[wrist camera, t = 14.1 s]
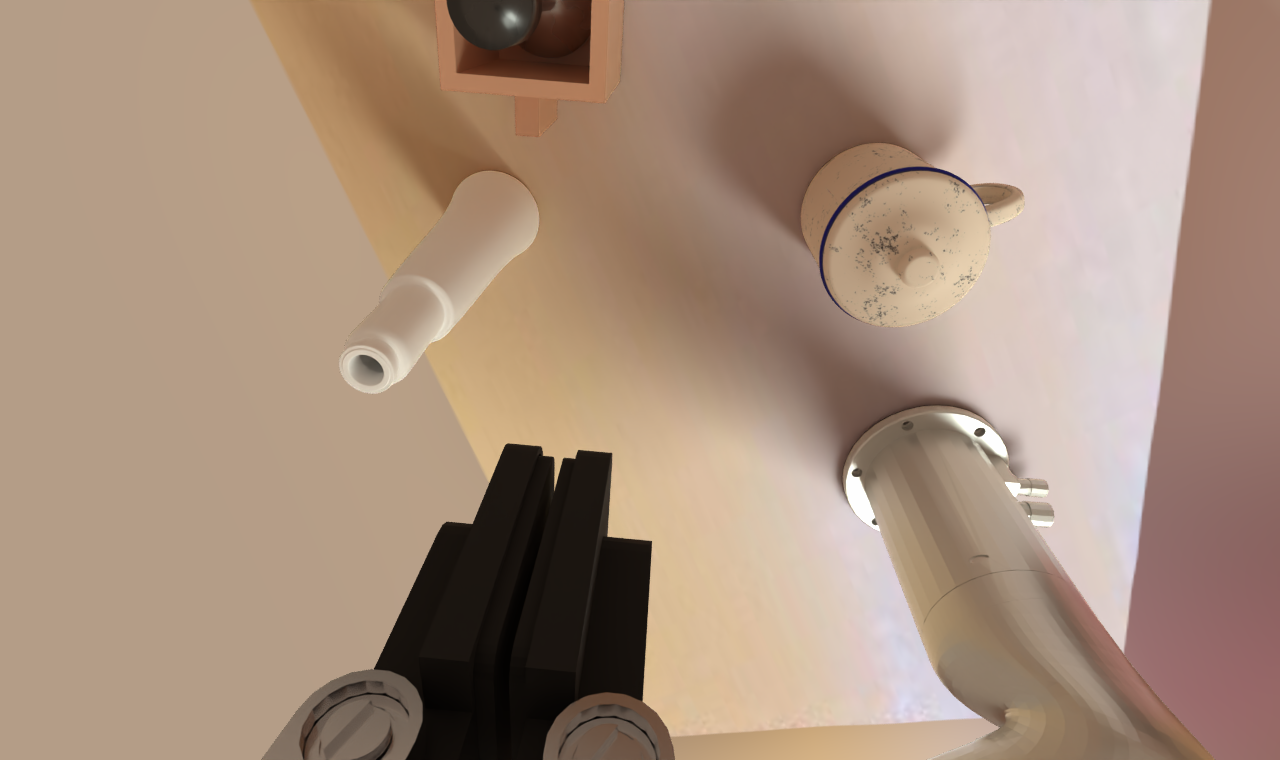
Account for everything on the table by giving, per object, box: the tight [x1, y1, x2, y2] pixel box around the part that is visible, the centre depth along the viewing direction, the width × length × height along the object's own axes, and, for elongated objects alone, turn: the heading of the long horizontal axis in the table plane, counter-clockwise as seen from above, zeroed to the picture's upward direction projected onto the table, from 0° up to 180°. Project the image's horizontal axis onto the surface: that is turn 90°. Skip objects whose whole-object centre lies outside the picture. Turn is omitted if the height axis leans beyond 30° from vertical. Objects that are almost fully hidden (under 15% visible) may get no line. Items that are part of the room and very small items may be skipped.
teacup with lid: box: [801, 143, 1024, 327], centre depth 39 cm, size 12×9×12 cm
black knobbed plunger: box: [446, 0, 592, 58], centre depth 31 cm, size 6×6×14 cm
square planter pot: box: [435, 0, 624, 137], centre depth 35 cm, size 8×10×10 cm
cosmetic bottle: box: [339, 171, 539, 394], centre depth 36 cm, size 6×6×22 cm
